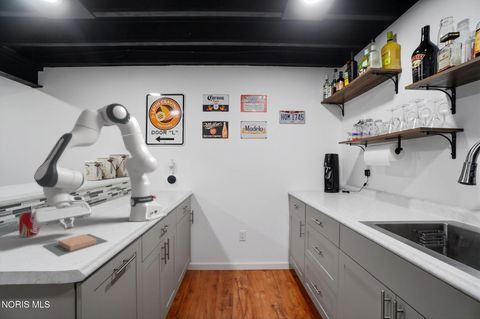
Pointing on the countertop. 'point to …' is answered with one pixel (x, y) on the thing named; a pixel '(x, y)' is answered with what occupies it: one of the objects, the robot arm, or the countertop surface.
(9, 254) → the countertop surface
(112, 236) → the countertop surface
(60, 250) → the mat
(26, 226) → the soda can
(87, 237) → the tile
